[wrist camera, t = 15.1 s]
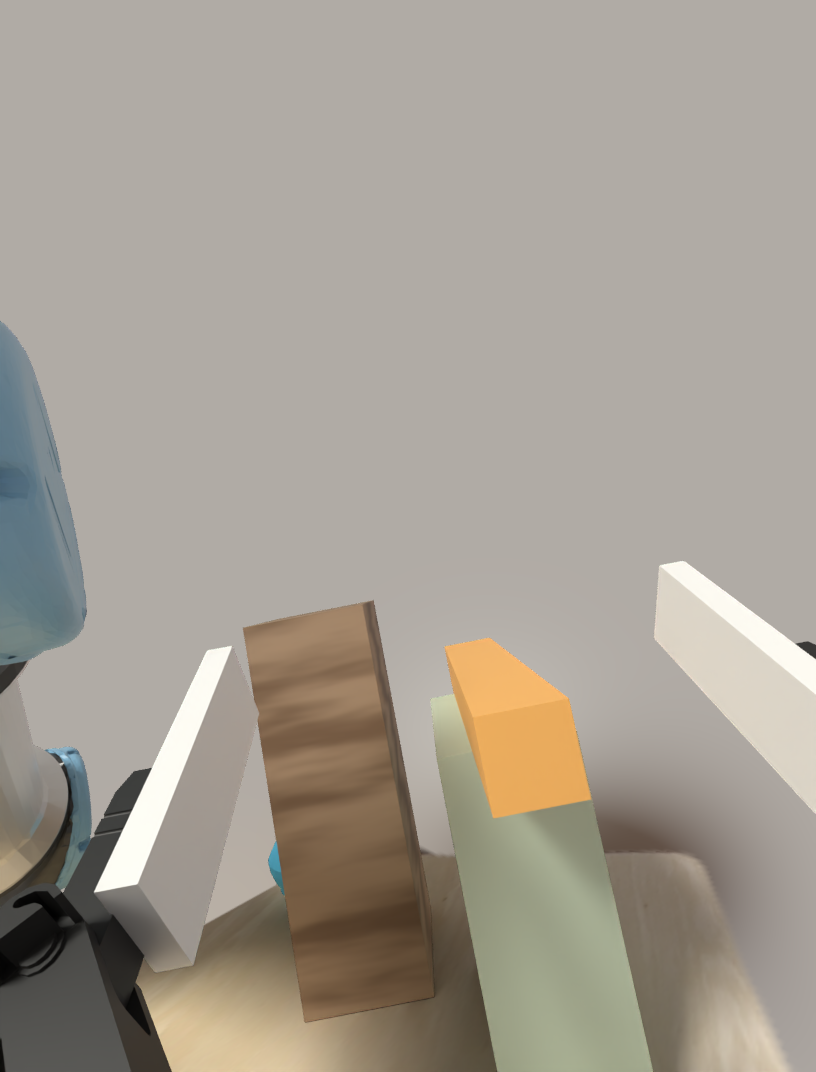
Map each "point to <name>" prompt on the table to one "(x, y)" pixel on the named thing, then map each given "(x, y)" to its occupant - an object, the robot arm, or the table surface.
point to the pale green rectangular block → (540, 924)
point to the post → (341, 812)
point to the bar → (516, 730)
